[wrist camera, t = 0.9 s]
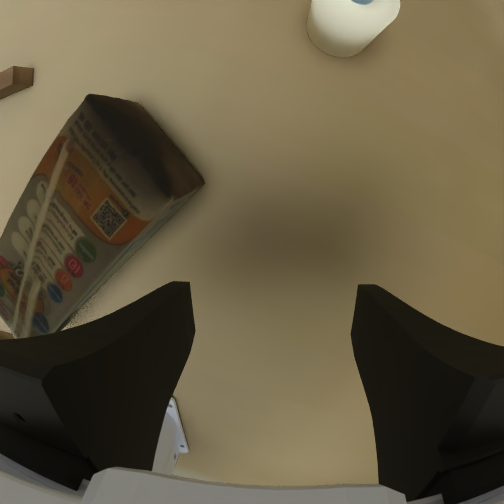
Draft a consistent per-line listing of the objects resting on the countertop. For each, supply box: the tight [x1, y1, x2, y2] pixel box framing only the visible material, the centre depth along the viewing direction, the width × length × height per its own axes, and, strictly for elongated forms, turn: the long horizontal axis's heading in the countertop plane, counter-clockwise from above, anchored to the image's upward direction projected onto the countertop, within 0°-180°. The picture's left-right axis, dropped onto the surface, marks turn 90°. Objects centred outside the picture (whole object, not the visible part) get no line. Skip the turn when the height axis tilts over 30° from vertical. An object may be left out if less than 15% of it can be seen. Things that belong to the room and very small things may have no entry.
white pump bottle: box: [306, 0, 400, 57], centre depth 12 cm, size 4×4×8 cm
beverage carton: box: [0, 94, 205, 339], centre depth 19 cm, size 8×19×7 cm, turn 131°
